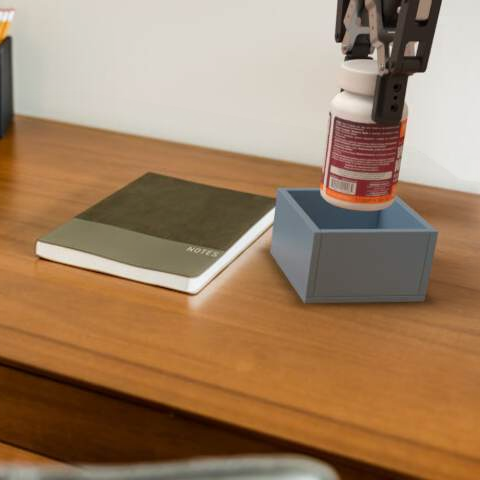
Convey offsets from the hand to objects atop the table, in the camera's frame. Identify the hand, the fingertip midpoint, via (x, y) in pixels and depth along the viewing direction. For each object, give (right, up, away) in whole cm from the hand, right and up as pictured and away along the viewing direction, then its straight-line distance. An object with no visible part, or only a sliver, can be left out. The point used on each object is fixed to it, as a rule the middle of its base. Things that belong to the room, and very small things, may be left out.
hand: (368, 110), depth 73 cm
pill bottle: (0, -7, +3) cm, 8 cm away
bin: (+4, -14, +23) cm, 28 cm away
